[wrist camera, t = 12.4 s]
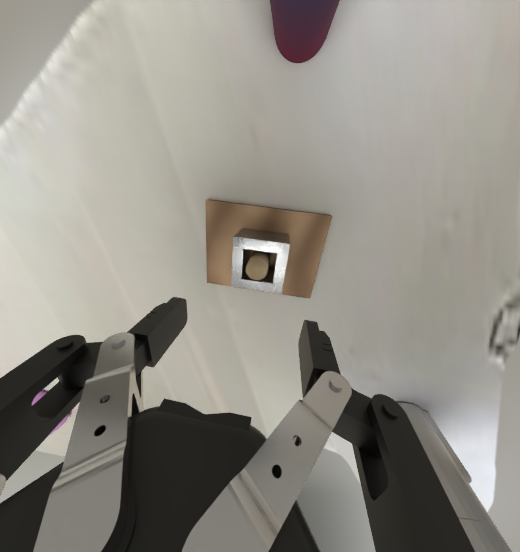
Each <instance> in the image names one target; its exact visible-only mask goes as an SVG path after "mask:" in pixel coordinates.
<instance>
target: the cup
mask: <svg viewBox="0 0 520 552" xmlns="http://www.w3.org/2000/svg"><path fill="white" fill-rule="evenodd" d="M339 1H340V0H270V4H271V11H272V19H273V26H274V34H275V40H276V43H277V46H278V49H279V51H280V52H281V54H282V55H283V56H284V57H285V58H286V59H287V60H289V61H291V62H294V63H301V62H305V61H307V60H309V59H311V58H312V57H313V56H314V55H315V54H316V53H317V52H318V51H319V50H320V48H321V47H322V45H323V43H324V41H325V39H326V36H327V34H328V31H329V28H330V25H331V23H332V20H333V17H334V14H335V12H336V9H337V6H338V3H339Z"/></svg>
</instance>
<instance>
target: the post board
mask: <svg viewBox="0 0 520 552" xmlns="http://www.w3.org/2000/svg"><path fill="white" fill-rule="evenodd" d="M331 219H332V216H331V215H324V214H316V213H308V212H300V211H292V210H285V209H277V208H269V207H261V206H254V205H246V204H238V203H230V202H223V201H215V200H206V244H207V283H212V284H219V285H225V286H231V278H232V254H233V236H234V235H235V234H237V233H238V232H239V231H240V230H241V229H242V228H245V229H253V230H261V231H269V232H276V233H284V234H289V238H290V248H289V254H288V260H287V265H286V271H285V276H284V282H283V287H282V293H281V294H283V295H290V296H296V297H303V298H309V299H310V296H311V293H312V289H313V285H314V282H315V278H316V274H317V270H318V267H319V263H320V259H321V256H322V252H323V248H324V245H325V241H326V237H327V233H328V230H329V226H330V222H331ZM276 255H277V253H272V252H264V251H257V250H250V252H249V262H248V264H247V266H246V273H247V275H248V276H249V277H250V278H251V279H254V280H261V279H263V278H264V277H265V276H266V275H267V271H268V267H272V268H275V262H276ZM238 288H239V287H238ZM251 290H252V289H251ZM258 291H259V290H258ZM264 292H265V291H264ZM270 293H272V292H270ZM277 294H279V293H277Z"/></svg>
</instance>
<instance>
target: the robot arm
mask: <svg viewBox="0 0 520 552" xmlns="http://www.w3.org/2000/svg"><path fill="white" fill-rule="evenodd" d="M186 322H187V304H186V300H185V299H183V298H177V297H173V298H171V299H170V300H169V301H168V302H167V303H163V304H161V305H159V306H157V307H155V308H154V309H153V310H152V311H151V312H150V313H149V314H147V315H146V317H144V318H143V319H142V320H141V321H139V322H138V323H137V324H136V325H135V326H134V327H133V328H132V329H130V330H129V331H128V332H127V333H118V334H115V335H113V336H110V337H109V338H107V339H106V340H105V341H104V342H94V343H86V340H85V338H84V337H83V336H81V335H71V336H67V337H63V338H61V339H58V340H56V341H54V342H53V343H51V344H50V345H48V346H47V347H45V348H44V349H42V350H41V351H40V352H38V353H37V354H35V355H34V356H32V357H31V358H29V359H28V360H26V361H25V362H23V363H22V364H20V365H19V366H18V367H16V368H15V369H13V370H12V371H10V372H9V373H7V374H6V375H4V376H3V377H1V378H0V495H1V493H2V491H3V489H4V486H5V483H6V481H7V480H8V478H9V477H10V476H11V475H12V474H13V473H14V472H15V471H16V470H17V469H18V468H19V467H20V466H21V464H22V463H23V462H24V461H25V460H26V459H27V458H28V457H29V456H30V455H31V454H32V452H33V451H34V450H35V449H36V448H37V447H38V446H39V445H40V444H41V443H42V442H43V441H44V440H45V438H46V437H47V436H48V435H49V434H50V433H51V432H52V431H53V430H54V429H55V428H56V427H57V425H58V424H59V423H60V422H61V421H62V420H63V419H64V418H65V417H66V416H67V415H68V414H69V412H70V411H71V410H72V409H73V408H74V407H75V406H76V405H77V404H78V403H79V402H80V404H79V408H78V412H77V415H76V419H75V423H74V426H73V430H72V434H71V438H70V441H69V445H68V449H67V453H66V456H65V460H64V462H62V463H61V464H59V465H58V466H56V467H55V468H53V469H52V470H50V471H49V472H47V473H46V474H44V475H43V476H41V477H40V478H38V479H37V480H35V481H34V482H32V483H31V484H29V485H27V486H26V487H25V488H23V489H21V490H20V491H18V492H17V493H15V494H14V495H12V496H11V497H9V498H8V499H6V500H5V501H3V502H2V503H0V552H320V550H319V548H318V546H317V544H316V542H315V539H314V537H313V535H312V533H311V531H310V528H309V526H308V524H307V522H306V520H305V517H304V516H303V513H302V511H301V509H300V507H299V504H298V502H297V500H296V499H297V497H298V495H299V493H300V491H301V489H302V487H303V486H304V484H305V482H306V480H307V478H308V476H309V474H310V472H311V470H312V468H313V467H314V465H315V463H316V461H317V459H318V457H319V455H320V453H321V451H322V449H323V448H324V446H325V444H326V442H327V440H328V438H329V436H330V434H331V432H334V433H335V434H337V435H339V436H340V437H342V438H344V439H345V440H347V441H349V442H351V443H352V445H353V450H354V454H355V459H356V463H357V468H358V472H359V477H360V482H361V486H362V490H363V495H364V500H365V504H366V509H367V514H368V518H369V523H370V527H371V532H372V536H373V541H374V545H375V550H376V552H512V551H511V549H510V548H509V546H508V545H507V543H506V541H505V540H504V538H503V537H502V535H501V534H500V532H499V531H498V529H497V527H496V526H495V524H494V523H493V521H492V520H491V518H490V516H489V515H488V513H487V512H486V510H485V509H484V507H483V505H482V504H481V502H480V501H479V499H478V497H477V496H476V494H475V493H474V491H473V490H472V488H471V486H470V485H469V483H470V482H471V477H470V475H469V474H468V472H467V471H466V469H465V468H464V466H463V465H462V463H461V461H460V460H459V458H458V457H457V455H456V454H455V452H454V451H453V449H452V448H451V446H450V445H449V443H448V442H447V440H446V439H445V437H444V436H443V434H442V433H441V431H440V429H439V428H438V426H437V425H436V423H435V422H434V420H433V419H432V417H431V416H430V414H429V413H428V412H426V411H423V410H421V409H420V408H419V407H418V406H416V405H413V404H409V403H397V402H396V401H394V400H393V399H391V398H390V397H388V396H385V395H381V394H377V395H374V396H373V398H372V399H371V398H369V397H367V396H365V395H363V394H361V393H359V392H357V391H355V390H353V389H352V388H351V386H350V384H349V383H348V381H347V380H346V379H345V378H344V377H343V376H342V375H341V374H340V371H339V367H338V364H337V361H336V357H335V354H334V352H333V348H332V344H331V341H330V338H329V337H328V335H327V334H326V333H325V332H324V331H319V328H318V324H317V322H314V321H308V320H305V321H304V323H303V327H302V331H301V334H300V338H299V358H300V370H301V381H302V393H303V400H302V401H301V400H299V401H298V402H297V403H296V404H295V405H294V406H293V408H292V409H291V410H290V411H289V413H288V414H287V415H286V416H285V418H284V419H283V420H282V421H281V423H280V424H279V425H278V426H277V428H276V429H275V430H274V431H273V433H272V434H271V435H270V436H269V438H268V439H266V438H265V436H264V435H263V434H262V433H261V432H260V431H259V430H257V429H256V428H255V427H253V426H251V425H250V423H251V417H248V416H243V415H238V414H233V413H219V414H203V413H201V412H199V411H197V410H196V409H194V408H192V407H191V406H189V405H187V404H185V403H182V402H177V401H172V400H167V399H164V400H163V402H162V403H161V405H160V407H154V408H150V409H147V410H144V408H143V372H142V370H143V369H144V367H145V366H150V367H154V366H155V365H156V364H157V362H158V361H159V360H160V358H161V357H162V356H163V354H164V353H165V352H166V350H167V349H168V348H169V346H170V345H171V344H172V342H173V341H174V340H175V338H176V337H177V336H178V335H179V333H180V332H181V331H182V329H183V328H184V327H185V325H186ZM57 377H58V379H59V382H58V383H57V384H56V385H55V386H54V387H53V388H52V389H50V390H49V391H48V392H47V393H46V394H45V395H44V396H42V397H41V398H40V399H39V400H38V401H37V402H36V403H35V404H33V405H32V402H33V400H34V398H35V397H36V395H37V394H38V393H39V392H40V391H42V390H43V389H44V388H45V387H46V386H47V385H49V384H50V383H51V382H52V381H53V380H54V379H56V378H57Z"/></svg>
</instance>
